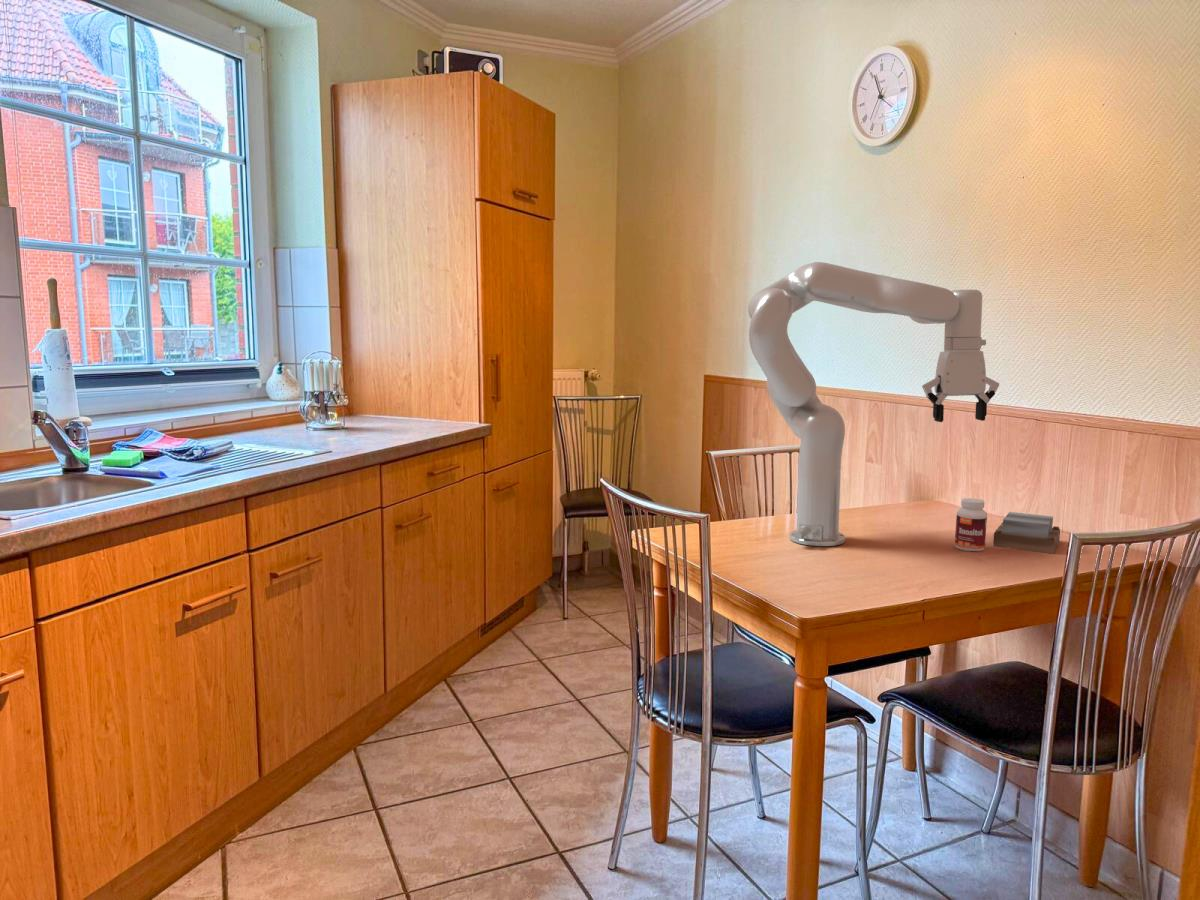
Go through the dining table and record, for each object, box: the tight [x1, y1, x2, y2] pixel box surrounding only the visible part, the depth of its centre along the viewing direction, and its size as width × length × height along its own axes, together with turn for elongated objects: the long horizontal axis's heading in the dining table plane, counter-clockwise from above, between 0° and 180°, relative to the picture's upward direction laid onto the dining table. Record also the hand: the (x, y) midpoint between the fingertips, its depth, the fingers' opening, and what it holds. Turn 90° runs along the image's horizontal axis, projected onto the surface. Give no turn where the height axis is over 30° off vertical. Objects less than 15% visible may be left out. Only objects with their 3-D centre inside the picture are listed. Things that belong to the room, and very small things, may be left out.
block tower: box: [992, 511, 1061, 555], centre depth 185 cm, size 12×12×6 cm
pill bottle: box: [954, 497, 988, 552], centre depth 181 cm, size 6×6×11 cm
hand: (959, 420), depth 187 cm, fingers open, 9 cm apart
